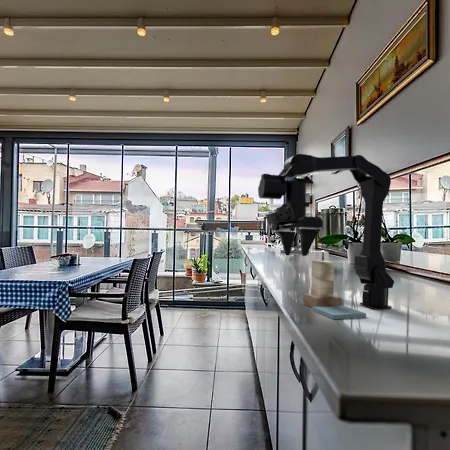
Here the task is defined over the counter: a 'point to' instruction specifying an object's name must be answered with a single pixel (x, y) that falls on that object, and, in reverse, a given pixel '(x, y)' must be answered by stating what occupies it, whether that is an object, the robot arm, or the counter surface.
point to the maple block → (322, 278)
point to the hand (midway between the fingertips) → (295, 255)
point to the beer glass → (316, 257)
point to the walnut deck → (321, 301)
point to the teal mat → (339, 312)
